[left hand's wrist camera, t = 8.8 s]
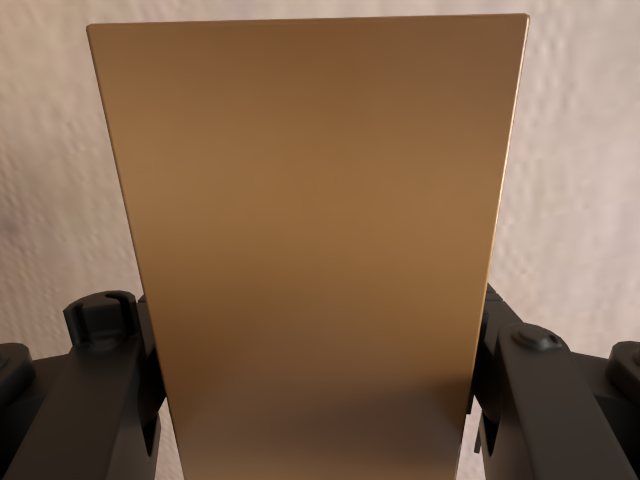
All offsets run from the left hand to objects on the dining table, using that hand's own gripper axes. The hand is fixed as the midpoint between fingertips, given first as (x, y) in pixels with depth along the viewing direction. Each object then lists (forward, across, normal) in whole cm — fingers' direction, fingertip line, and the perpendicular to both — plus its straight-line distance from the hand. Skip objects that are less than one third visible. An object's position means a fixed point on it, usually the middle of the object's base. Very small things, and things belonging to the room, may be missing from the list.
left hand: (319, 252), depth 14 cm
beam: (+1, 0, -21) cm, 21 cm away
